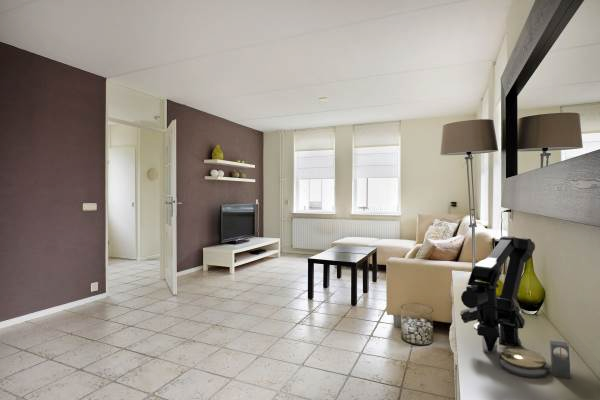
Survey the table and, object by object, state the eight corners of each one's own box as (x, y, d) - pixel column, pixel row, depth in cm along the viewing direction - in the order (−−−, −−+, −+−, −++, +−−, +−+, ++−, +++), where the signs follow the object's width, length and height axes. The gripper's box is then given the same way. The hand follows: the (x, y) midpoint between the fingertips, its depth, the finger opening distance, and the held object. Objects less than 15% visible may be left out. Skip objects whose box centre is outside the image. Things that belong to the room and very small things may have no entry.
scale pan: (501, 349, 112) (501, 346, 112) (543, 355, 107) (543, 352, 107) (502, 364, 102) (502, 360, 102) (548, 371, 97) (548, 368, 97)
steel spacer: (482, 347, 120) (482, 333, 120) (497, 350, 118) (496, 335, 118) (482, 353, 116) (481, 338, 116) (497, 355, 114) (496, 340, 114)
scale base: (499, 356, 113) (498, 328, 113) (565, 365, 104) (563, 336, 105) (500, 373, 102) (498, 342, 102) (573, 385, 94) (571, 352, 94)
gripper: (463, 293, 129) (465, 335, 129) (458, 307, 113) (461, 355, 112) (497, 295, 124) (499, 339, 123) (498, 311, 107) (501, 361, 107)
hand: (489, 348), depth 117 cm, fingers closed on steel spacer, 4 cm apart
